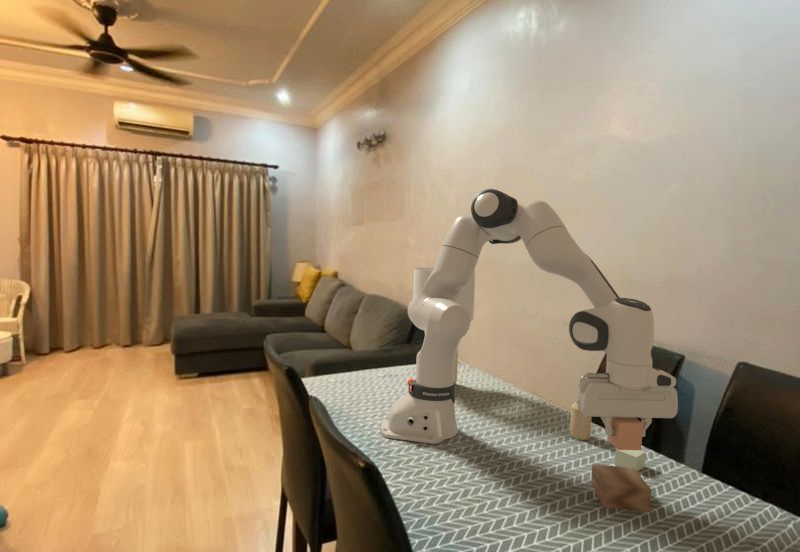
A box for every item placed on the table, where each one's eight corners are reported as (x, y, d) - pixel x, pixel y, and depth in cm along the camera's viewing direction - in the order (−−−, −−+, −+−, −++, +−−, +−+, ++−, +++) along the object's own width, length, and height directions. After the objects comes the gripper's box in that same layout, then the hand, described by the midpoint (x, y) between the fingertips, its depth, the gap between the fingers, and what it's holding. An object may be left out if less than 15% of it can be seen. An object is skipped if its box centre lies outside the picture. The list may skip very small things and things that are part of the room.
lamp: (407, 376, 181) (410, 267, 177) (462, 376, 183) (466, 268, 180) (415, 396, 158) (419, 270, 155) (478, 395, 160) (482, 272, 157)
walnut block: (604, 508, 93) (605, 485, 93) (590, 485, 102) (592, 464, 102) (649, 512, 92) (651, 489, 92) (632, 488, 101) (633, 467, 101)
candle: (592, 441, 125) (594, 406, 124) (571, 439, 126) (573, 404, 125) (588, 433, 130) (590, 399, 129) (568, 431, 131) (570, 398, 131)
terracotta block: (617, 449, 96) (619, 422, 95) (607, 439, 101) (609, 413, 100) (641, 450, 96) (642, 423, 95) (629, 439, 101) (631, 414, 100)
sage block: (614, 464, 112) (615, 449, 112) (624, 459, 115) (625, 444, 115) (635, 473, 108) (636, 457, 108) (644, 467, 111) (645, 451, 111)
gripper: (585, 377, 94) (582, 440, 95) (684, 379, 94) (680, 442, 95) (574, 368, 100) (572, 428, 101) (666, 370, 100) (663, 430, 101)
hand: (625, 435), depth 98 cm, fingers closed on terracotta block, 5 cm apart
